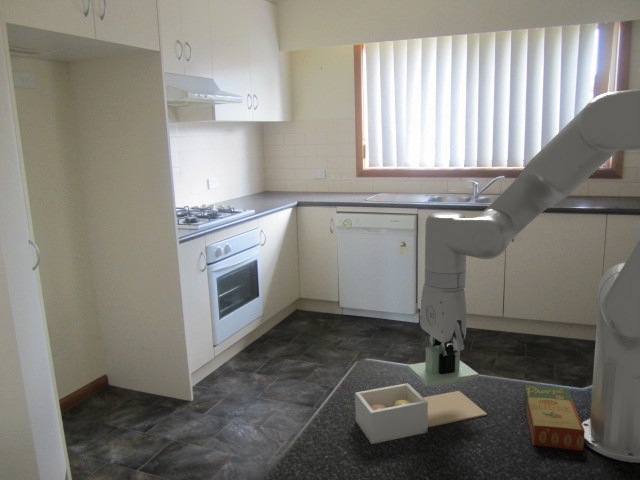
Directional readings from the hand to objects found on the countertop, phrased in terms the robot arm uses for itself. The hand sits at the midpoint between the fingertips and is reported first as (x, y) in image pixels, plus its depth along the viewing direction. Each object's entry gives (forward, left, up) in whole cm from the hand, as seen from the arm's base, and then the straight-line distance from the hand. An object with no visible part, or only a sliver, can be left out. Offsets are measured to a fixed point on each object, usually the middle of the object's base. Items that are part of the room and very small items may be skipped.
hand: (442, 368), depth 103 cm
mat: (0, 0, -8) cm, 8 cm away
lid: (0, 0, -1) cm, 1 cm away
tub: (+12, +3, -8) cm, 15 cm away
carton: (-16, +12, -9) cm, 22 cm away
